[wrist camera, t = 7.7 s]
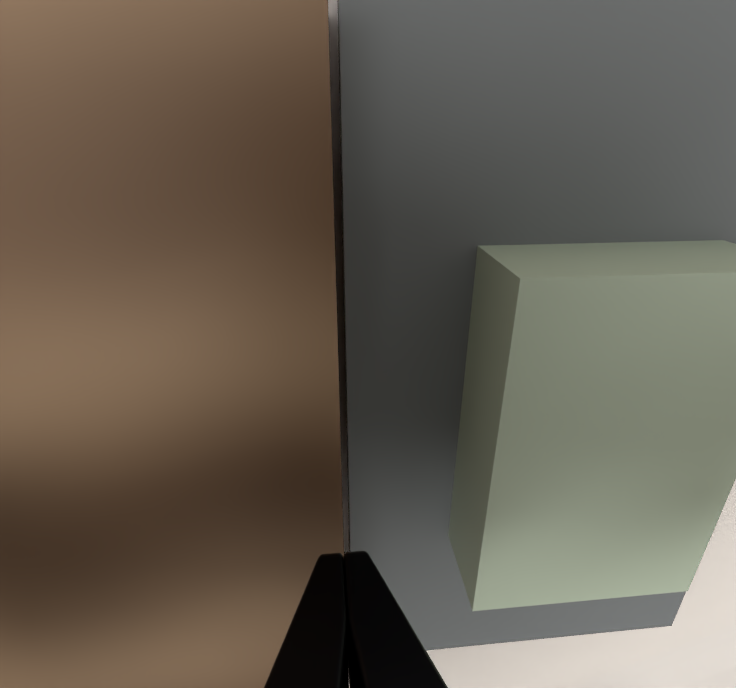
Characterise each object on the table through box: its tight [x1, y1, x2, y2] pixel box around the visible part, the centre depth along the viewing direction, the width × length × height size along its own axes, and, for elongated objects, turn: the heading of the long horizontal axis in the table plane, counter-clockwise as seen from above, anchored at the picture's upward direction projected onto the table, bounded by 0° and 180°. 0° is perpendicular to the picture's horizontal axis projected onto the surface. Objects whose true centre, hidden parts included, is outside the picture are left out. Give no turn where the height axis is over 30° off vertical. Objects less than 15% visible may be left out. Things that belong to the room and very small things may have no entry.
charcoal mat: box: [338, 0, 736, 650], centre depth 13 cm, size 20×12×1 cm, turn 0°
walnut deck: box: [0, 0, 344, 688], centre depth 10 cm, size 18×12×4 cm, turn 0°
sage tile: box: [448, 240, 736, 611], centre depth 12 cm, size 9×6×2 cm, turn 0°
